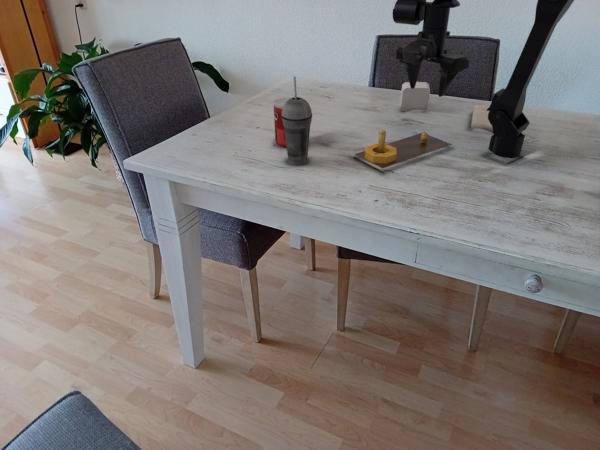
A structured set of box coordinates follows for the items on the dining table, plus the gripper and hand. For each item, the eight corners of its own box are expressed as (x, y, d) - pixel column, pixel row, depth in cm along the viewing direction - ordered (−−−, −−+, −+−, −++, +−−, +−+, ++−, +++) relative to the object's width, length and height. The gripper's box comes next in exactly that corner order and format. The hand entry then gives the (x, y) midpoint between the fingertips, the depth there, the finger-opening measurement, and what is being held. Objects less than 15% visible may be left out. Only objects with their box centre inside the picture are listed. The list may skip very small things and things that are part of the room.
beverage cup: (286, 169, 107) (283, 83, 96) (279, 157, 113) (276, 75, 102) (316, 165, 109) (316, 80, 98) (307, 153, 114) (307, 72, 104)
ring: (402, 158, 108) (403, 151, 107) (379, 166, 105) (380, 159, 104) (380, 148, 114) (381, 141, 113) (358, 155, 110) (358, 148, 109)
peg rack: (451, 148, 116) (456, 118, 111) (382, 173, 104) (385, 140, 100) (421, 136, 123) (425, 107, 118) (353, 158, 111) (355, 127, 107)
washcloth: (514, 115, 136) (517, 105, 134) (515, 136, 122) (518, 125, 120) (473, 111, 139) (475, 101, 138) (469, 131, 125) (471, 120, 124)
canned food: (285, 135, 125) (283, 95, 119) (310, 140, 122) (309, 100, 116) (269, 144, 120) (267, 103, 114) (295, 150, 116) (294, 108, 110)
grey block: (422, 99, 148) (427, 70, 141) (425, 117, 141) (431, 88, 134) (397, 99, 149) (401, 70, 142) (399, 116, 142) (403, 87, 135)
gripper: (382, 25, 111) (377, 89, 119) (444, 36, 98) (433, 107, 106) (414, 21, 116) (407, 82, 125) (476, 30, 103) (463, 98, 112)
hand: (426, 92), depth 117 cm, fingers open, 9 cm apart
